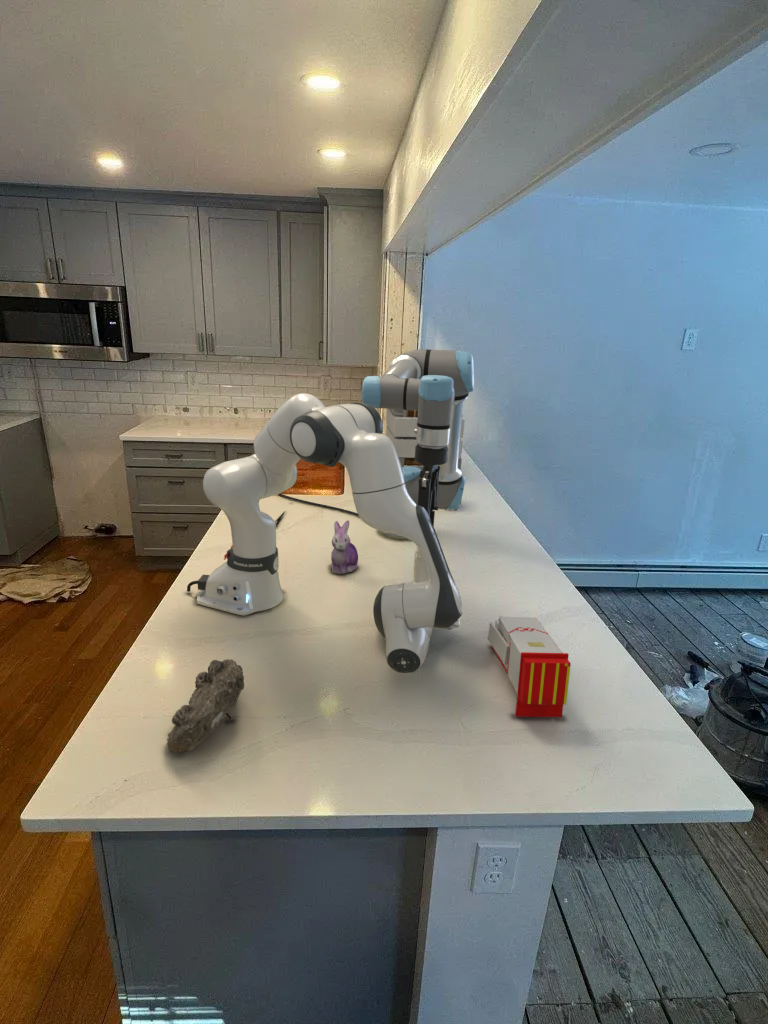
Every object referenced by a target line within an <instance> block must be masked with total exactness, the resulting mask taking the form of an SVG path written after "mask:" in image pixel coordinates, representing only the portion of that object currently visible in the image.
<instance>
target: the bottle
mask: <svg viewBox="0 0 768 1024" xmlns="http://www.w3.org/2000/svg"><path fill="white" fill-rule="evenodd" d="M412 575H413V576H412V583H415V582H424V581H429V580H431V579H430V576H429V574H428V571H427V568H426V565H425V563H424V560H423V557H422V554H421V552H420V549H419V548H418V546H417V548H416V549H415V551H414V561H413V574H412Z"/></svg>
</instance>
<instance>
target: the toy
mask: <svg viewBox="0 0 768 1024" xmlns="http://www.w3.org/2000/svg"><path fill="white" fill-rule="evenodd" d="M488 625H489V627H488V633H487V641H488V642H489V644H490V646H491V647H490V648H491V649H492V650H493V652H494V654H495V656H496V658H497V659H498V660H499V662H500V664H501V666H502V668H503V669H504V671H505V673H506V674H507V676H508V678H509V680H510V682H511V685H512V686H513V689H514V690H515V693H516V704H515V717H516V718H517V717H518V718H519V717H520V718H521V717H522V718H563V710H564V705H567V701H568V692H569V685H570V684H569V683H570V676H571V675H570V674H571V666H572V664H571V661H570V660H569V655H570V654H569V653H568V652H563V651H562V649H561V648H560V647H559V646H558V644H557V643H556V642H555V640H554V639H553V638H552V636H551V635H550V634H549V632H548V631H547V629H546V628H545V627H544V626H543V624H542V622H541V621H540V620H539V619H538V618H537V616H498V618H496V619H494V623H493V622H489V624H488Z"/></svg>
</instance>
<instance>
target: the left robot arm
mask: <svg viewBox="0 0 768 1024" xmlns="http://www.w3.org/2000/svg"><path fill="white" fill-rule="evenodd" d="M383 431H384V426H383V419H382V417H381V415H380V413H379V412H378V410H377V409H376V408H373V407H372V406H370V405H368V404H364V403H363V402H349V403H339V404H333V405H330V406H325V404H324V403H323V402H322V401H321V400H320V399H319V398H317V397H316V396H315V395H313V394H310V393H306V392H302V393H301V392H300V393H296V394H294V395H292V396H290V398H289V399H287V400H286V401H284V403H283V404H281V405H280V406H279V408H277V409H276V411H274V412H273V414H272V415H271V416H270V418H269V419H268V420H267V421H266V423H265V424H264V425H263V427H262V428H260V430H259V432H258V433H257V435H255V436H254V439H253V451H254V453H252V454H251V455H249V456H245V457H240V458H236V459H232V460H226V461H223V462H221V463H218V464H217V465H215V466H212V467H210V468H208V469H207V471H205V474H204V475H203V479H202V490H203V493H204V495H205V498H206V499H207V500H208V501H209V502H210V503H211V505H213V506H215V507H216V508H219V509H220V510H221V511H222V512H223V513H224V514H225V516H226V518H227V520H228V523H229V525H230V532H231V541H232V544H231V546H230V548H229V549H227V551H226V553H225V554H224V555H223V560H224V561H225V560H226V561H225V562H223V563H222V564H221V565H219V566H218V567H216V568H215V569H214V570H213V571H212V572H211V573H210V574H202V575H201V576H200V577H199V579H198V580H193V581H191V582H189V583H188V584H187V586H186V592H188V593H189V592H191V588H192V586H193V585H194V586H195V585H197V590H198V591H199V592H198V594H197V597H196V604H198V605H200V606H204V607H208V608H212V609H216V610H220V611H224V612H226V613H231V614H233V615H234V614H235V615H238V616H242V617H243V616H248V615H251V614H253V613H256V612H261V611H266V610H270V609H272V608H275V607H277V606H278V605H279V604H281V603H282V602H283V601H284V598H285V596H284V595H285V594H284V593H283V590H282V586H281V582H280V577H279V567H280V557H279V548H278V547H277V527H276V525H277V524H276V522H275V521H276V520H274V519H273V517H272V516H271V515H269V514H267V513H266V512H264V511H261V509H260V500H264V499H266V498H270V497H274V496H278V495H277V494H280V493H281V494H283V493H284V492H285V491H287V490H289V489H290V488H292V487H293V486H294V485H295V484H296V482H297V479H298V468H297V463H298V462H299V461H301V460H303V461H305V462H307V463H310V464H319V465H324V466H327V467H330V468H333V467H336V465H337V464H338V463H339V464H341V465H342V466H344V468H345V469H346V471H347V474H348V477H349V482H350V489H351V493H352V498H353V504H354V507H355V510H356V513H358V515H359V516H358V517H359V519H361V521H362V522H364V523H365V524H366V525H367V526H368V527H371V528H373V529H374V530H377V531H379V530H380V531H383V532H387V533H392V534H396V535H400V536H403V537H405V538H408V539H410V540H409V541H412V542H413V543H414V544H415V545H416V546H417V547H418V548H419V549H420V552H421V554H422V557H423V560H424V563H425V565H426V568H427V571H428V574H429V576H430V579H431V580H429V581H424V582H415V583H413V582H407V583H406V582H402V583H394V584H387V585H383V586H382V587H381V588H380V589H379V591H378V592H377V594H376V596H375V598H374V601H373V607H372V609H373V610H372V611H373V612H372V614H373V621H374V624H375V627H376V629H377V631H378V633H379V634H380V635H381V636H382V638H384V640H385V660H386V664H387V665H388V667H389V668H390V669H391V670H393V671H395V672H397V673H399V674H411V673H415V672H417V671H418V670H420V668H422V666H423V664H424V662H425V660H426V657H427V655H428V652H429V649H430V639H431V636H432V633H433V629H440V630H447V631H448V630H453V629H456V628H457V629H458V628H459V627H460V624H461V621H460V618H461V617H462V615H463V598H462V595H461V593H460V590H459V588H458V586H457V584H456V582H455V579H454V578H453V575H452V573H451V570H450V567H449V565H448V562H447V560H446V556H445V553H444V551H443V548H442V545H441V542H440V539H439V536H438V535H437V532H436V528H435V526H434V527H433V524H432V522H431V519H430V517H429V515H428V513H427V512H426V510H425V509H424V507H421V506H419V505H417V504H416V503H415V502H414V501H413V500H412V499H411V497H410V496H409V494H408V491H407V489H406V485H405V480H404V475H403V471H402V467H401V464H400V460H399V457H398V454H397V451H396V449H395V446H394V444H393V442H392V440H391V439H390V438H389V437H388V436H386V434H383Z"/></svg>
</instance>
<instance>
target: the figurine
mask: <svg viewBox="0 0 768 1024" xmlns="http://www.w3.org/2000/svg"><path fill="white" fill-rule="evenodd" d="M333 524H334V525H333V527H334V529H333V530H334V534H333V536H332V538H331V545H332V547H333V548H332V551H331V554H330V555H331V556H330V559H331V560H330V561H331V564H330V569H331V571H332V573H335V574H339V575H342V574H346V573H351V572H353V571H355V570H356V569H357V567H358V562H359V553H358V550H357V547H356V546H355V544H353V543H352V542H351V538H350V536H349V534H348V531H349V529H350V520H348V519H347V520H345V521H344V523H343V524H342V526H341V524H340V523H339V521H338V520H336V521H334V523H333Z"/></svg>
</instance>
